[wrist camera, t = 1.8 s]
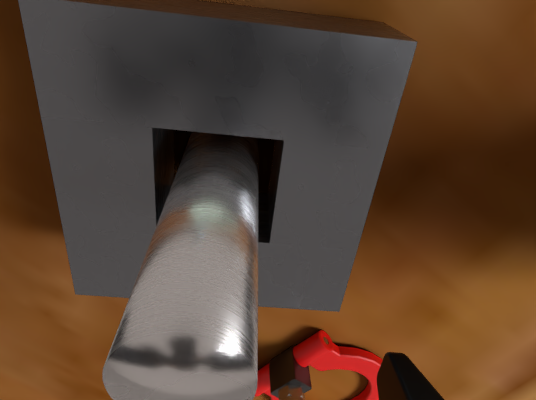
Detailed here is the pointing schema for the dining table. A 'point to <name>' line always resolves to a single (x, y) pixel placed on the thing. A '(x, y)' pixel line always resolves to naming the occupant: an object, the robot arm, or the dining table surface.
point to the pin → (196, 285)
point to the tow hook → (321, 358)
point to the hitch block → (214, 128)
